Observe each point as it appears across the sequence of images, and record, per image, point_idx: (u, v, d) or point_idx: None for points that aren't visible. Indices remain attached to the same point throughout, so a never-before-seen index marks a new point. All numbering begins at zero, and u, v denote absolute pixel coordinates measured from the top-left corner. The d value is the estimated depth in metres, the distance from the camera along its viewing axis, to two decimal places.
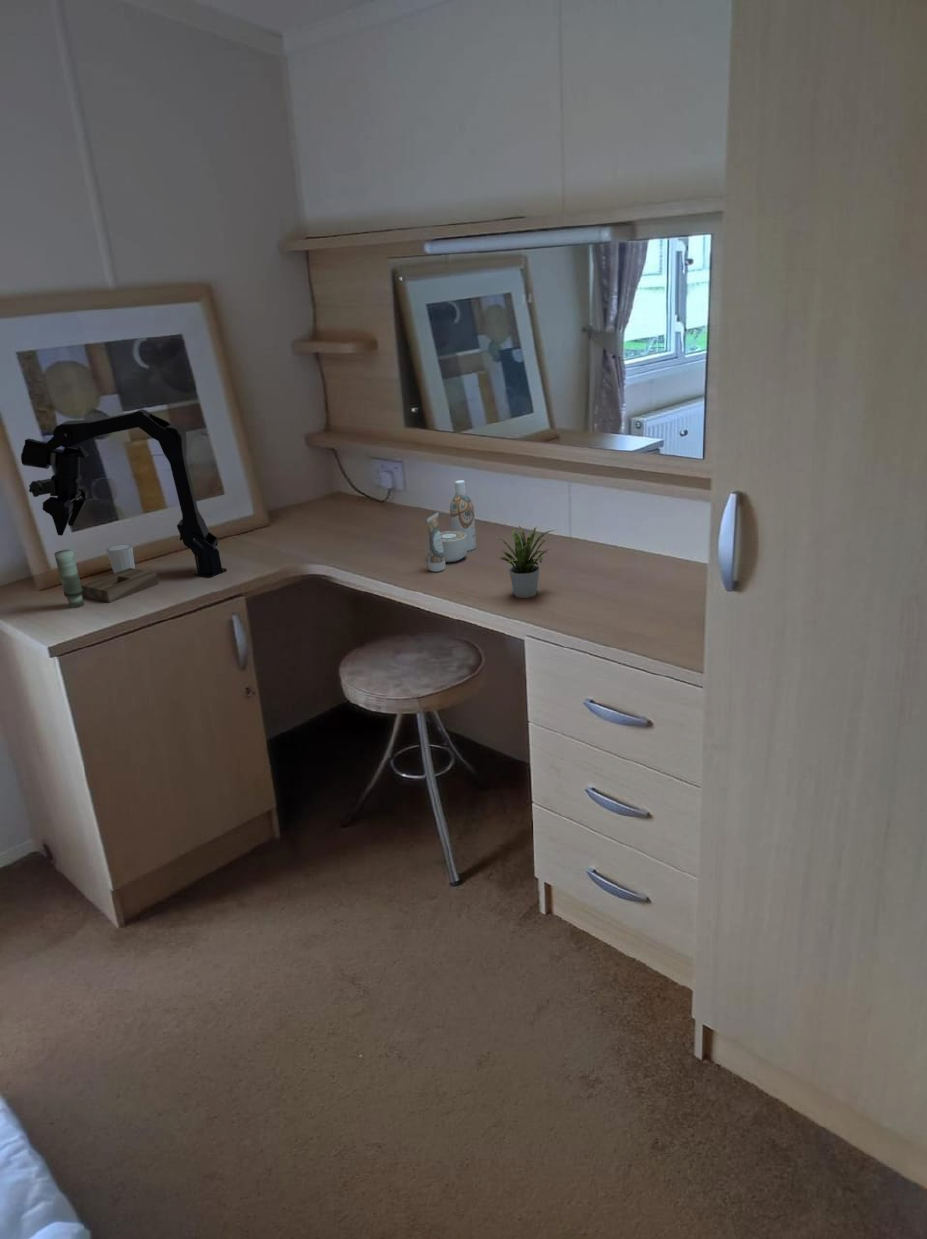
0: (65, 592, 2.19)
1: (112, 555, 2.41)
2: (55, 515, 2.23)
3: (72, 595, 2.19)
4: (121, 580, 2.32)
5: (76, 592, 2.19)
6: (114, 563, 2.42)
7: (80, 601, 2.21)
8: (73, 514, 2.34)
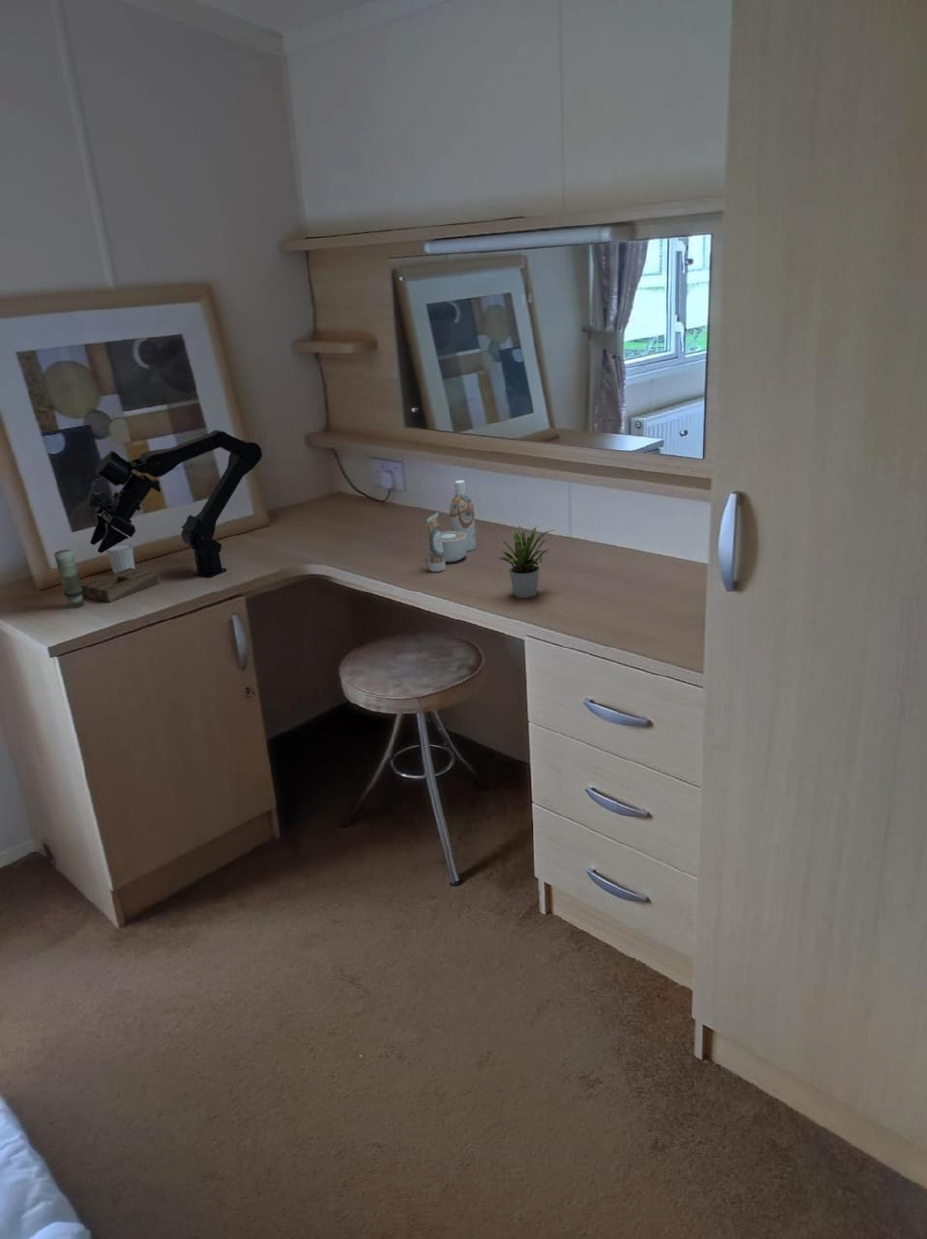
0: (65, 592, 2.19)
1: (112, 555, 2.41)
2: (110, 532, 2.15)
3: (72, 595, 2.19)
4: (121, 580, 2.32)
5: (76, 592, 2.19)
6: (114, 563, 2.42)
7: (80, 601, 2.21)
8: (101, 534, 2.24)
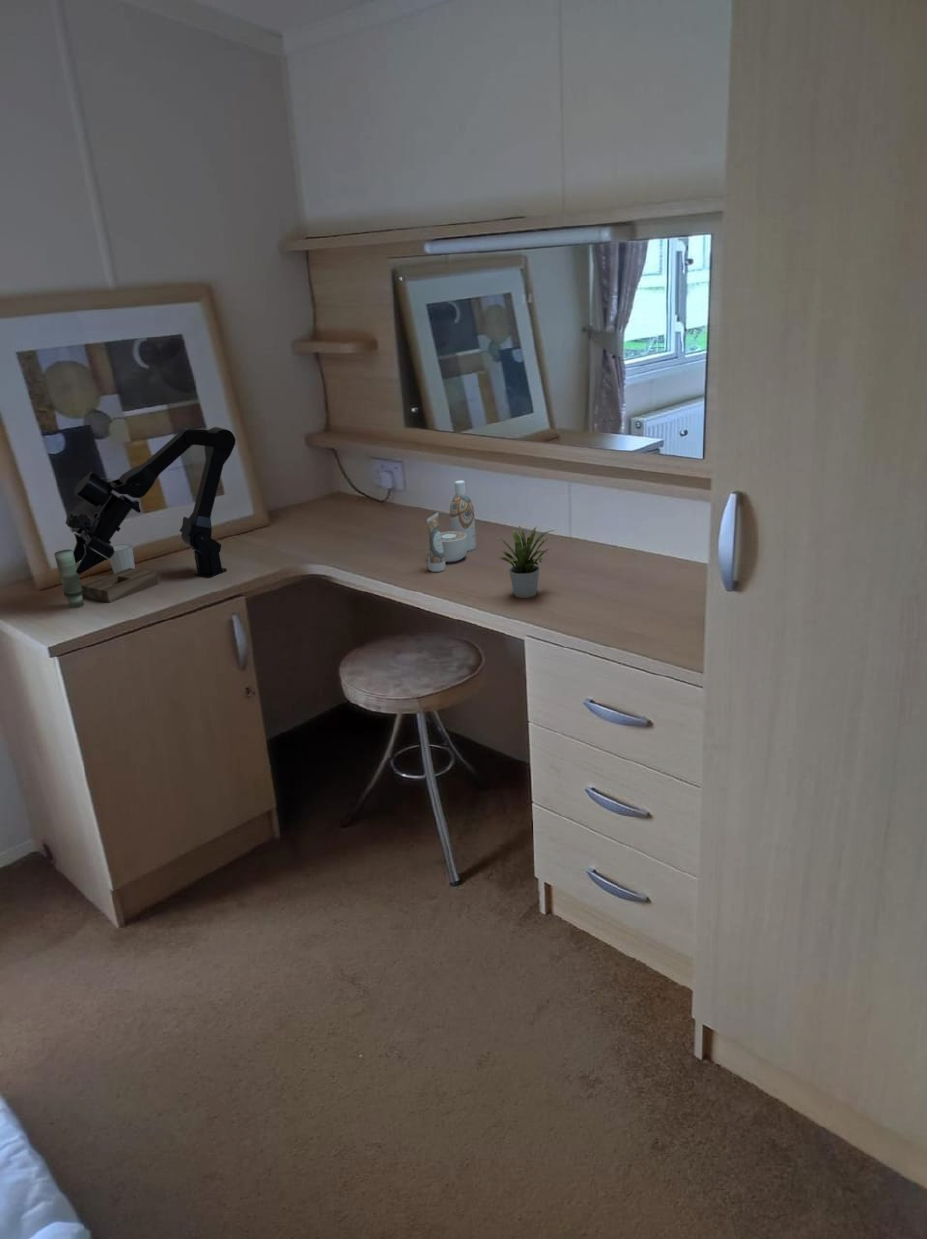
0: (65, 592, 2.19)
1: (112, 555, 2.41)
2: (89, 554, 2.14)
3: (72, 595, 2.19)
4: (121, 580, 2.32)
5: (76, 592, 2.19)
6: (114, 563, 2.42)
7: (80, 601, 2.21)
8: (80, 555, 2.23)
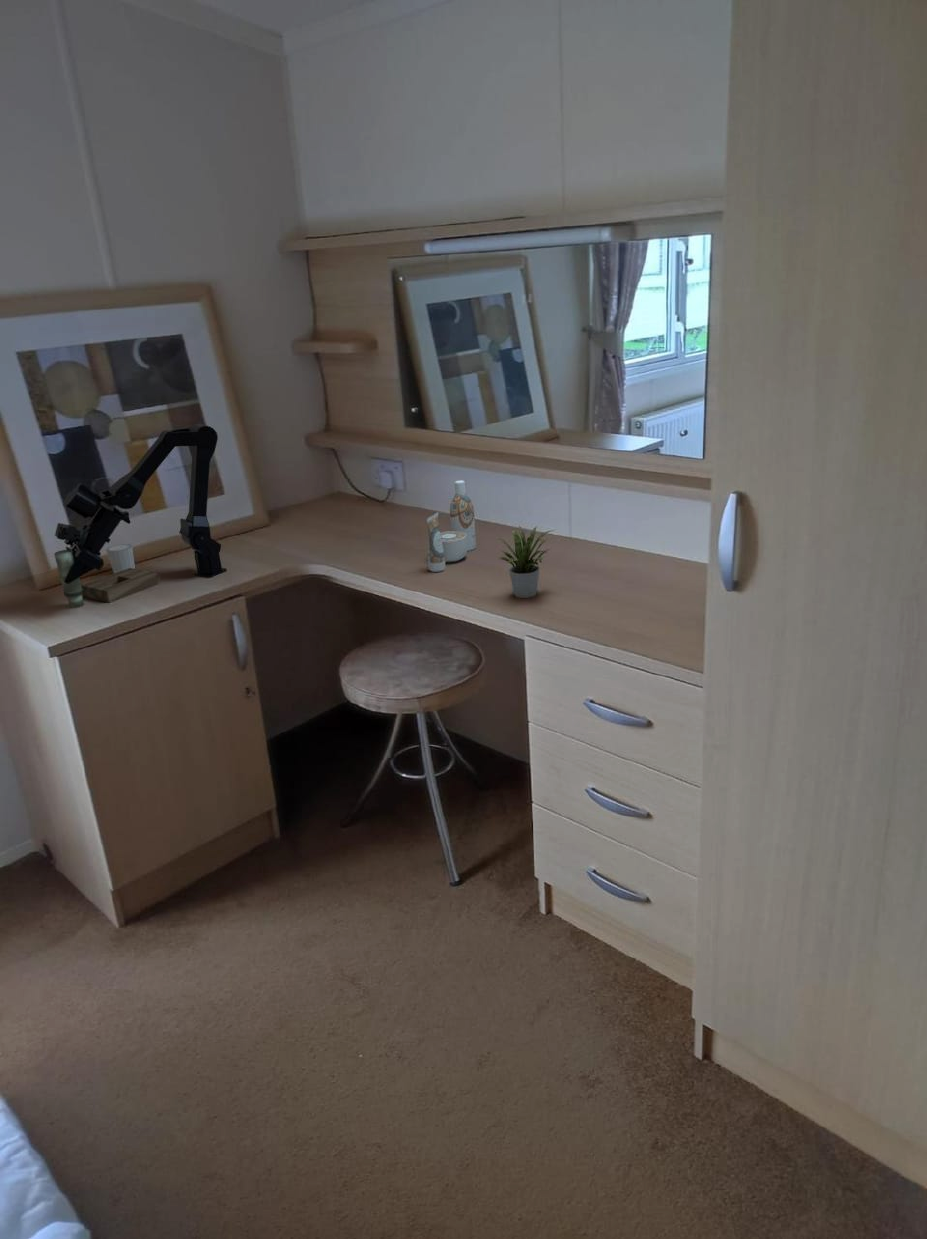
0: (65, 592, 2.19)
1: (112, 555, 2.41)
2: (77, 563, 2.15)
3: (72, 595, 2.19)
4: (121, 580, 2.32)
5: (76, 592, 2.19)
6: (114, 563, 2.42)
7: (80, 601, 2.21)
8: None
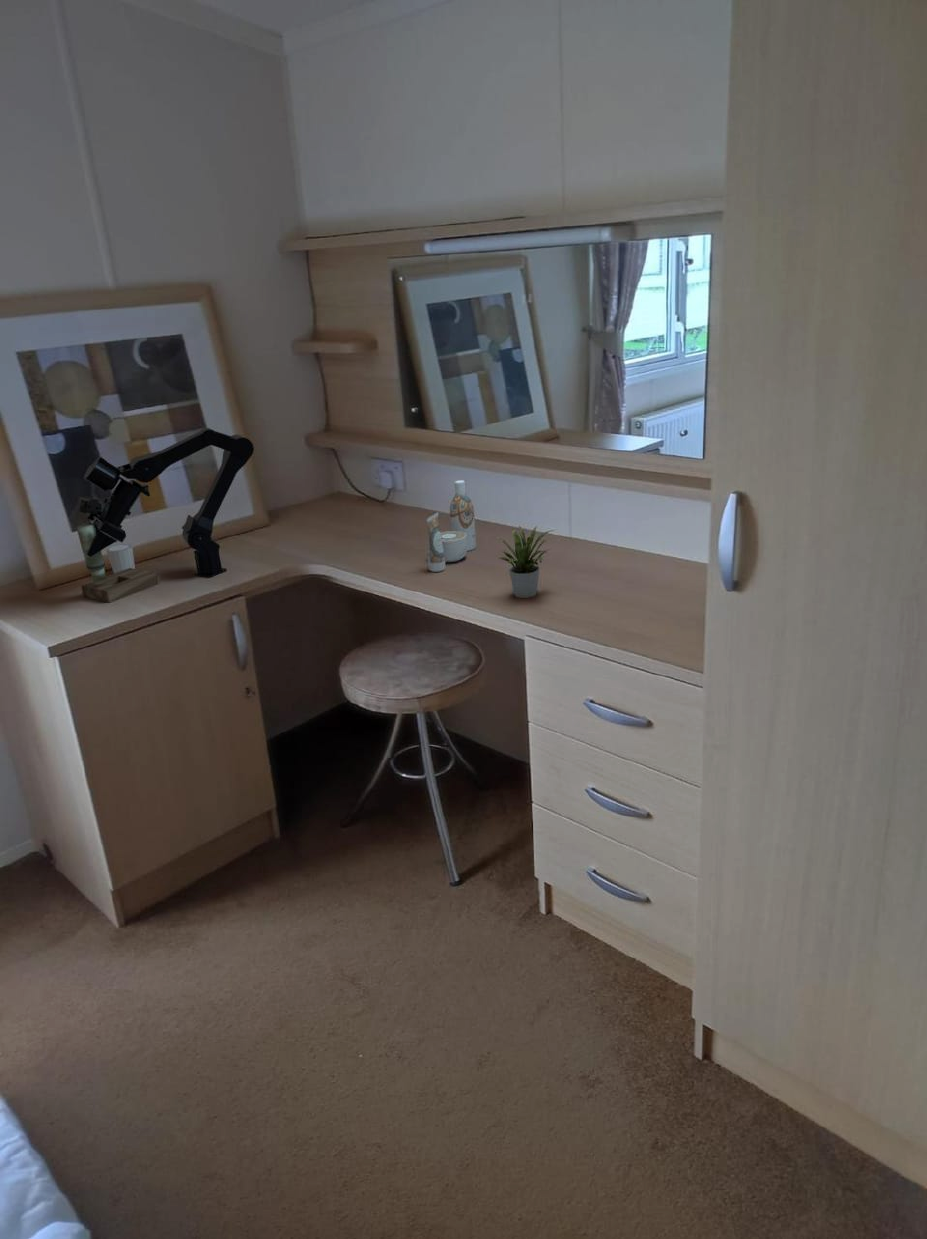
0: (88, 565, 2.22)
1: (112, 555, 2.41)
2: (99, 536, 2.18)
3: (95, 568, 2.22)
4: (121, 580, 2.32)
5: (98, 565, 2.22)
6: (114, 563, 2.42)
7: (103, 574, 2.24)
8: None
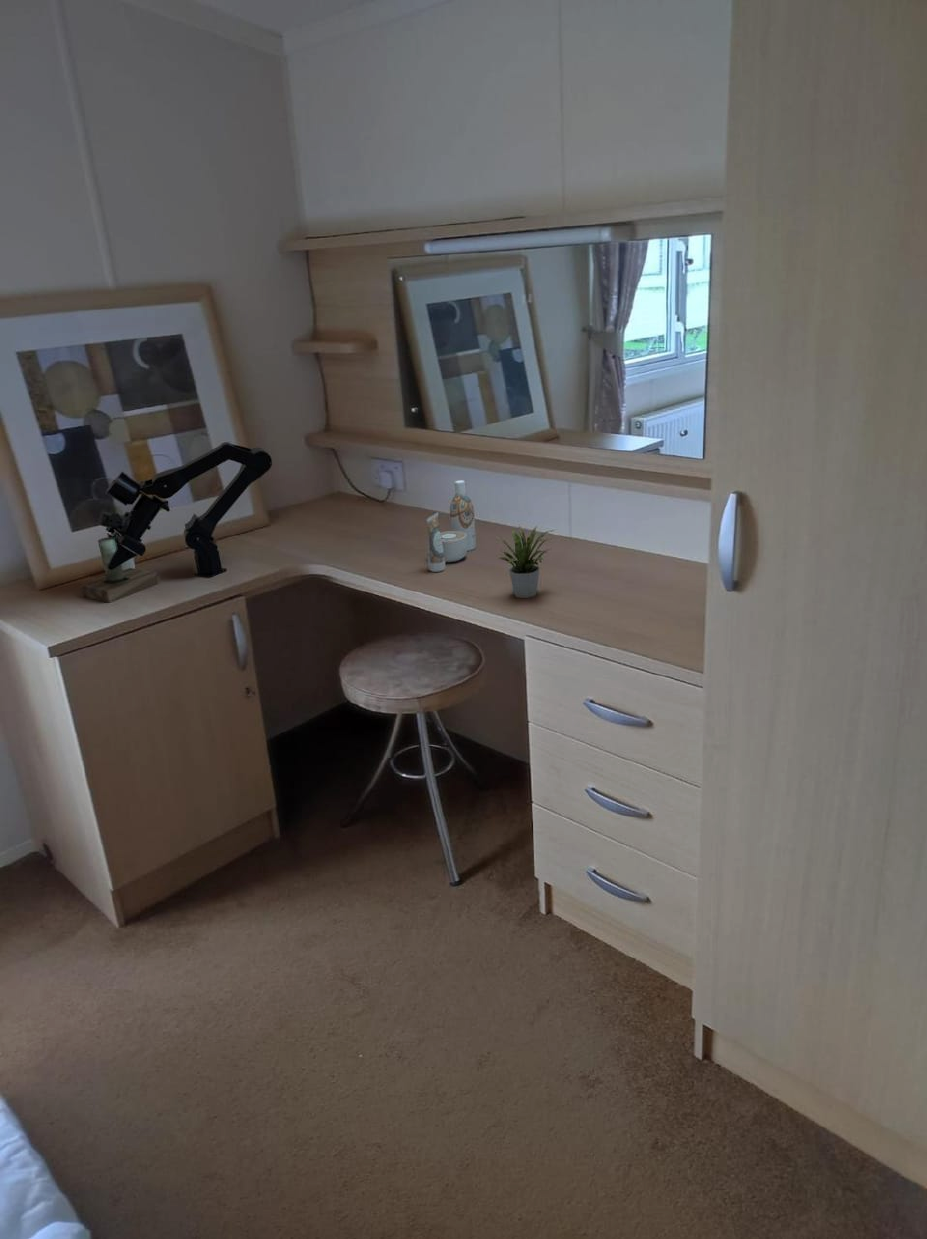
0: (108, 578, 2.27)
1: None
2: (120, 550, 2.23)
3: (115, 581, 2.27)
4: None
5: (118, 578, 2.27)
6: None
7: None
8: None
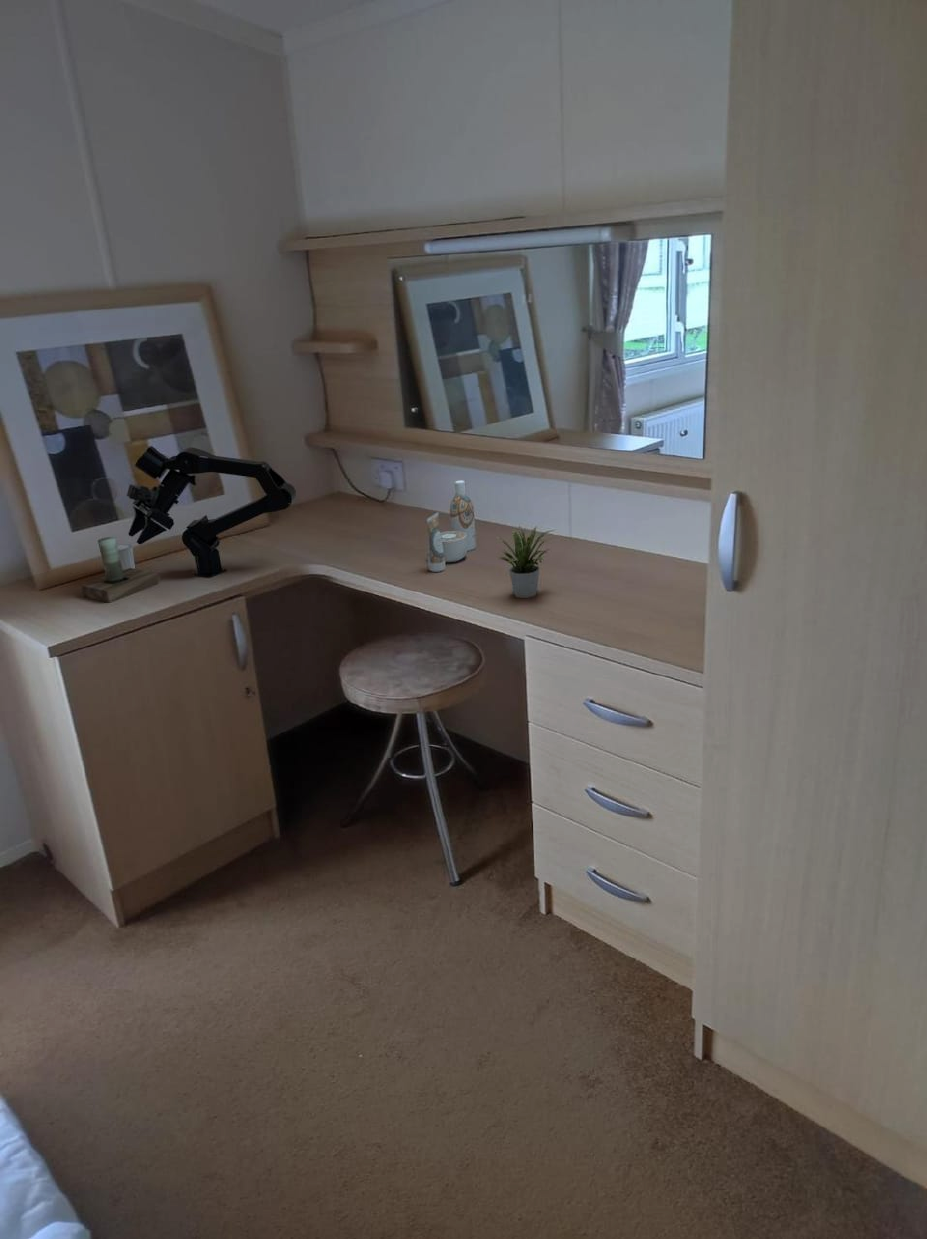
0: (108, 578, 2.27)
1: None
2: (149, 525, 2.23)
3: (114, 581, 2.27)
4: None
5: (118, 578, 2.27)
6: None
7: None
8: (138, 527, 2.33)
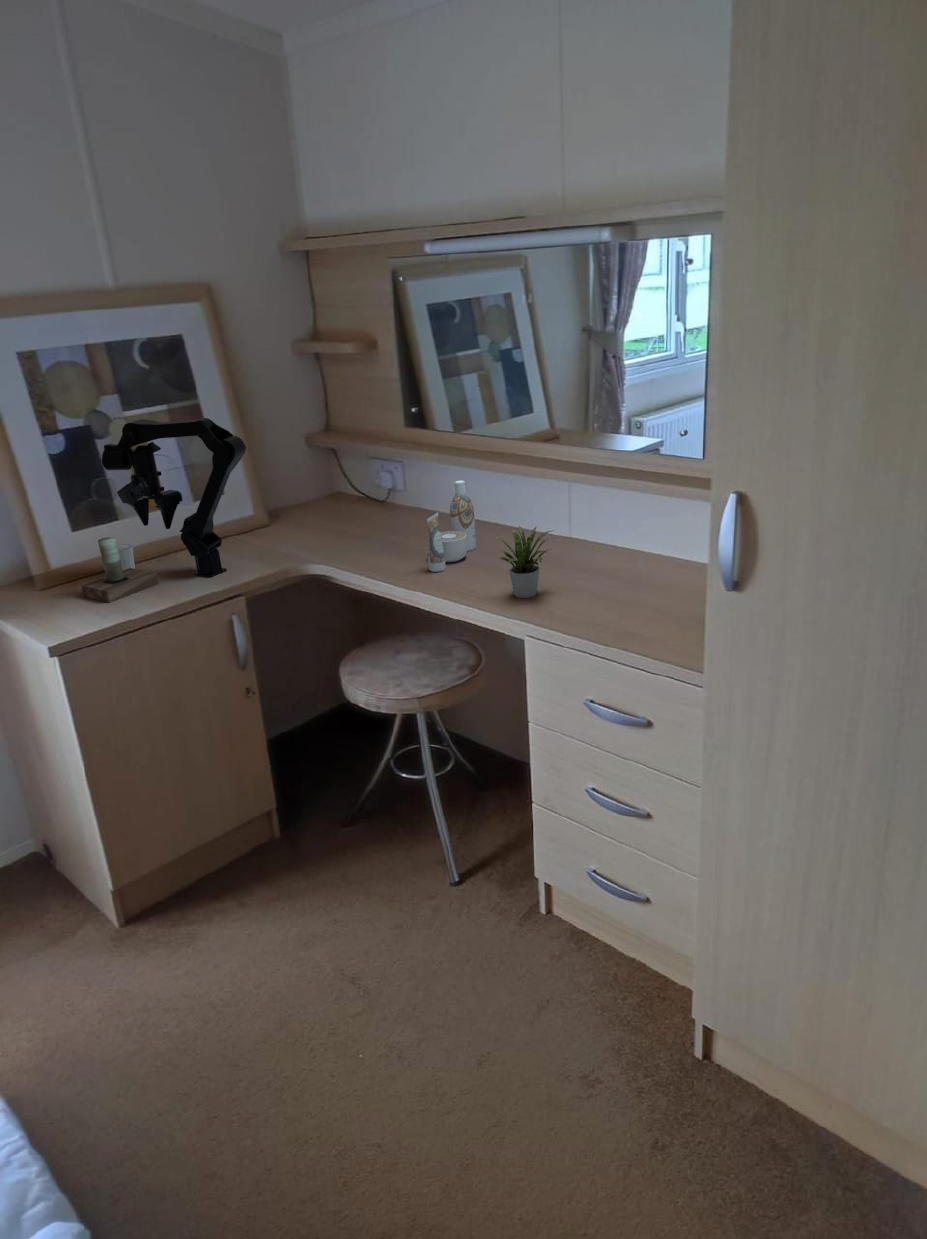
0: (108, 578, 2.27)
1: None
2: (165, 509, 2.31)
3: (114, 581, 2.27)
4: None
5: (118, 578, 2.27)
6: None
7: None
8: (145, 513, 2.38)
